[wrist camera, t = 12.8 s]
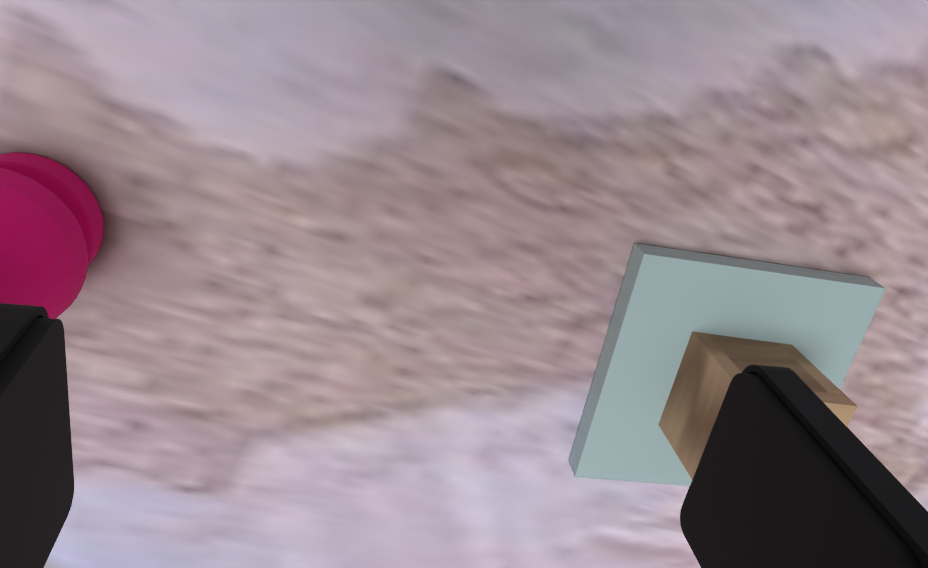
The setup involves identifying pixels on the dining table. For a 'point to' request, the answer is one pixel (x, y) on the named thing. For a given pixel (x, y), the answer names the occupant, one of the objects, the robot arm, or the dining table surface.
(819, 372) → the light brown wooden cube
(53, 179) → the pepper mill
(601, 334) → the dining table surface
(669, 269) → the shaft base
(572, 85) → the dining table surface
